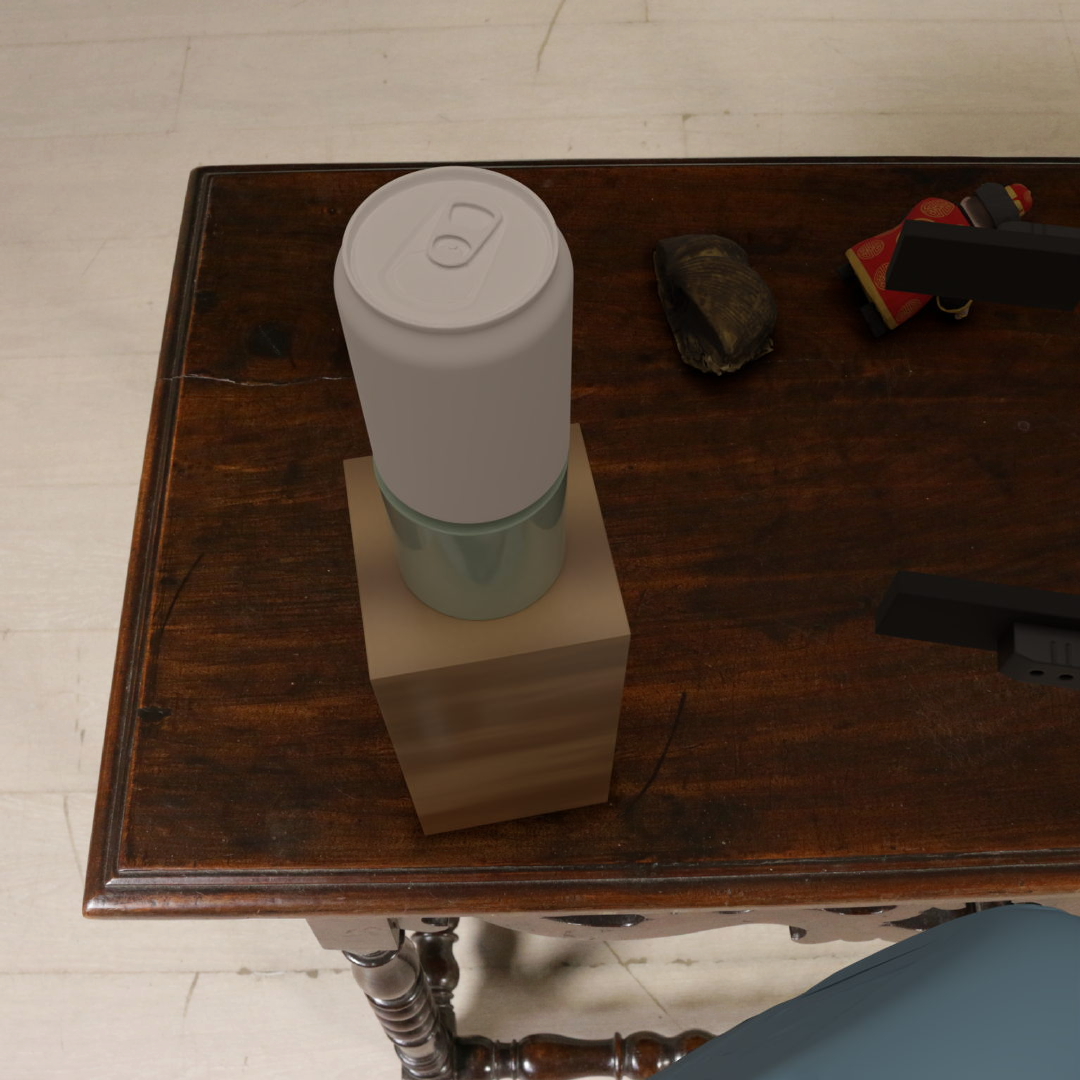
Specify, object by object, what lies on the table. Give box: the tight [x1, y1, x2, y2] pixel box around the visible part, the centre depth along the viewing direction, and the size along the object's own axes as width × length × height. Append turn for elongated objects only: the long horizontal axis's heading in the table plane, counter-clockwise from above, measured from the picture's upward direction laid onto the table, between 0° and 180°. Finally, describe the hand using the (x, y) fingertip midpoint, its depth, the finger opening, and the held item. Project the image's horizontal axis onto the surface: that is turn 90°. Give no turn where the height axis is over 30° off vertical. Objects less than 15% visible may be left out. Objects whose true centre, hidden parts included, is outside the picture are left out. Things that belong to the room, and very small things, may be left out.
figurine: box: [835, 181, 1033, 339], centre depth 93 cm, size 10×10×15 cm
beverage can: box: [333, 165, 574, 524], centre depth 43 cm, size 8×8×12 cm
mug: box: [373, 450, 569, 620], centre depth 53 cm, size 12×8×8 cm
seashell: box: [652, 234, 778, 376], centre depth 93 cm, size 16×9×7 cm, turn 14°
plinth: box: [342, 422, 632, 837], centre depth 67 cm, size 12×12×26 cm
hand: (889, 413), depth 37 cm, fingers open, 13 cm apart
